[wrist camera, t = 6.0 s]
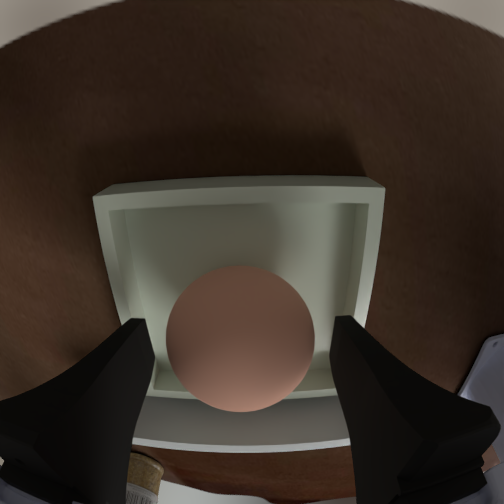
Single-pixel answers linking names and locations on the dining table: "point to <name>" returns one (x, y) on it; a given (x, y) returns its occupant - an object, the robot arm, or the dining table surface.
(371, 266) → the tray
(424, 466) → the robot arm
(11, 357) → the dining table surface
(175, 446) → the acrylic wall
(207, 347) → the ball
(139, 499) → the spice bottle
